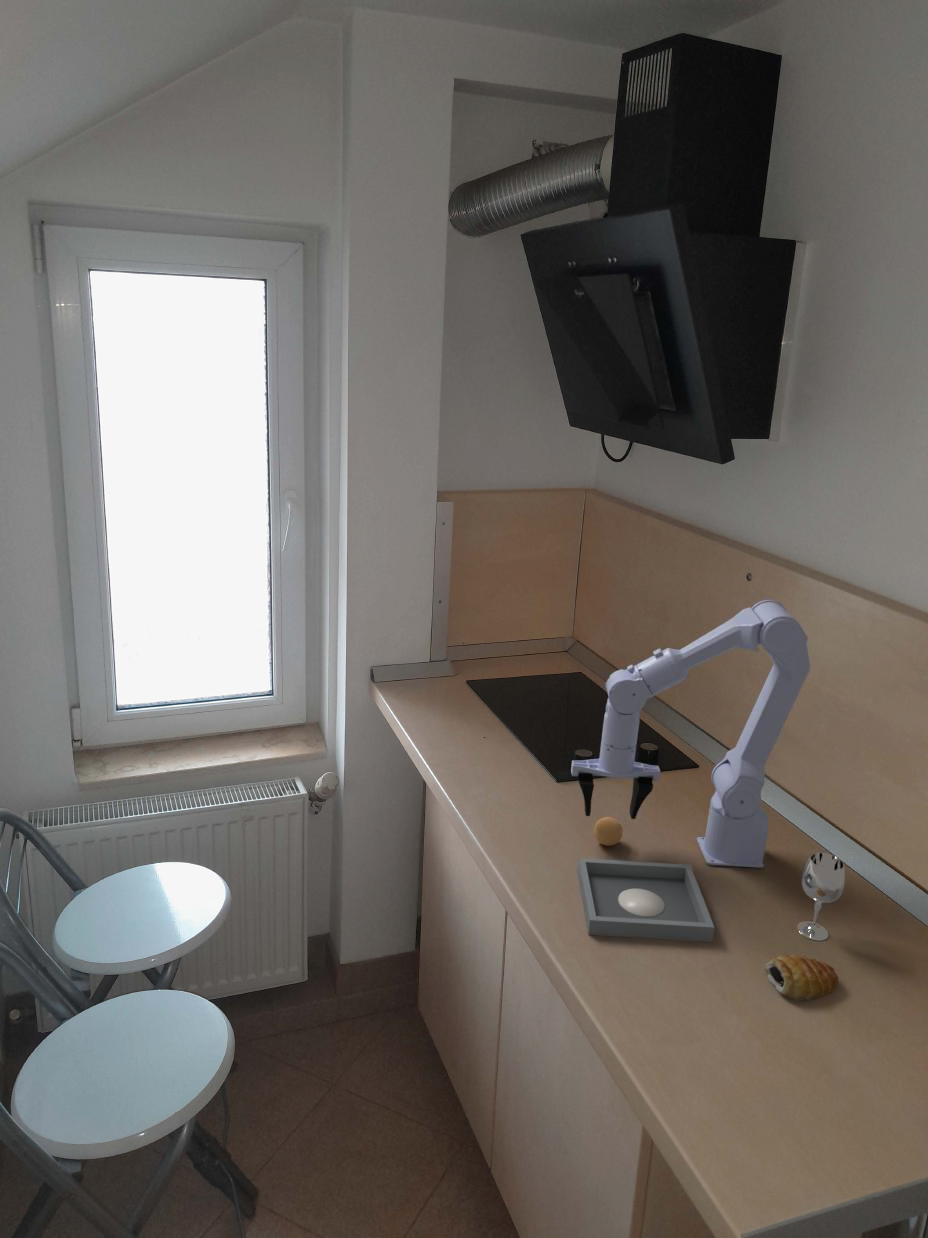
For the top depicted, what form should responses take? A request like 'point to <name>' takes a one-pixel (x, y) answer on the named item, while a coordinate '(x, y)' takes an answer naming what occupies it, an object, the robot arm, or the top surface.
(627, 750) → the robot arm
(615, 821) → the ball
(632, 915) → the grey serving tray
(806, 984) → the pastry
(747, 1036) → the top surface
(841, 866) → the wineglass
